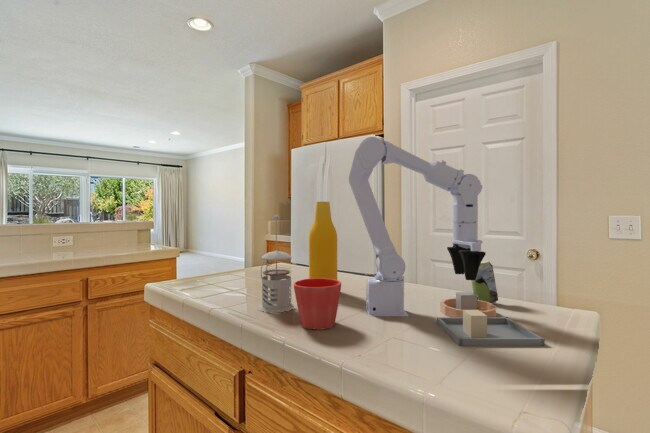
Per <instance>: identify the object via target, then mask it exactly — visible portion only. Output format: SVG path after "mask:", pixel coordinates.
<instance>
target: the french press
mask: <svg viewBox="0 0 650 433" xmlns="http://www.w3.org/2000/svg"><path fill="white" fill-rule="evenodd" d="M280 217H281V216H279V215H278V214H275V215H272V220H275V250H274V251H269V252H266V253H264V254H263V255H262V256H261V257H260V258H261V259H262V260H263V262H262V264H261V267H260V278H261V283H262V285H261V288H262V290H261V293H262V294H261V298H262V299H261V304H260V305H259V306H258V308H259V309H260V310H261V311H260V310H259V311H260V312H262V311H265V312H273V313H272V314H276V313H275V312H283V313H285V312H284V311H288V312H290V311H289V310H291V309H293V308H294V306H295V305H294V304H293V303H292V276H290V275H289V274H290V273H291V271H290V270H287V269H278V262H279V261H288V260H292V255H290V254H288V253H287V252H285V251H279V249H278V229H277V228H278V220H281V218H280ZM267 261H268V262H267ZM273 261H274V262H275V269H268V267H271V265H272V263H273ZM269 263H270V264H269ZM264 264H265V265H266V267H265V270H264V271H263V266H264ZM262 271H263V272H262ZM263 275H265V276H263ZM269 276H270V278H269ZM269 289H270V290H269ZM294 309H295V308H294ZM294 309H293V310H294ZM291 311H292V310H291ZM265 312H264V313H265Z"/></svg>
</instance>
